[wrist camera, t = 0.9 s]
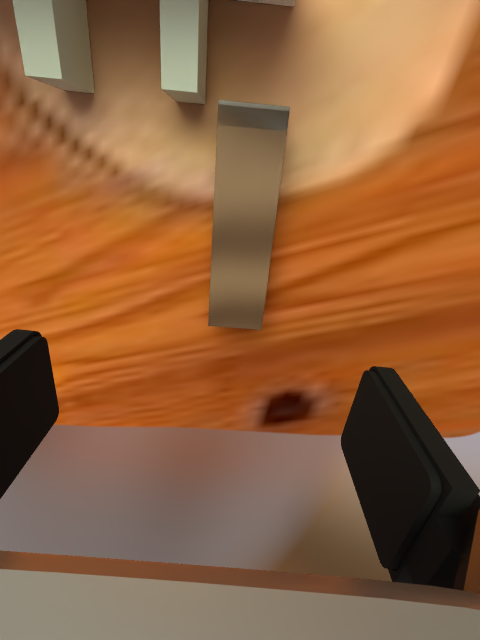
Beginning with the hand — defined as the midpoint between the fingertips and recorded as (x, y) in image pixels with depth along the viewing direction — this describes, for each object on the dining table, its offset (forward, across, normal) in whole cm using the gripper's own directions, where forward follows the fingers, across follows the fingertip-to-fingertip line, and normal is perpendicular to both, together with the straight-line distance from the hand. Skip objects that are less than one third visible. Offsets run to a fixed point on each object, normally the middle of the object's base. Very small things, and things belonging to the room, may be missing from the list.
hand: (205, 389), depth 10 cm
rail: (+19, -1, -2) cm, 19 cm away
